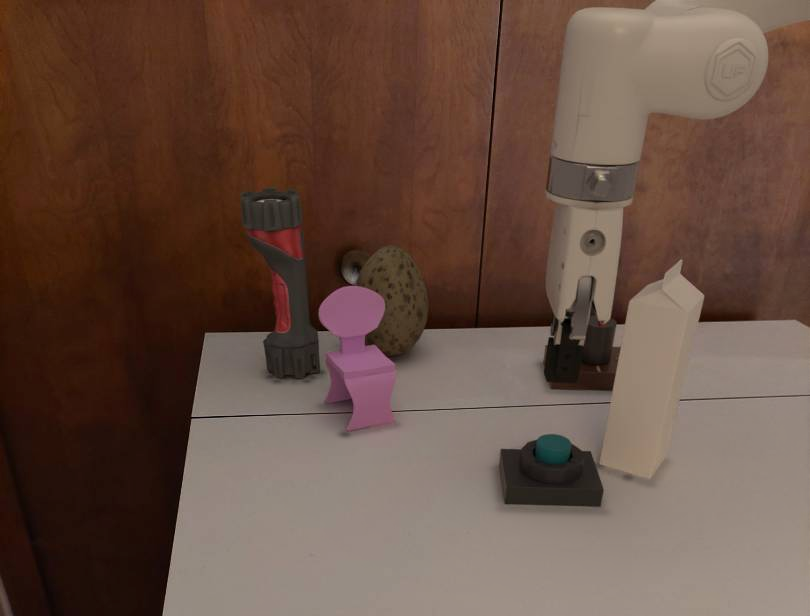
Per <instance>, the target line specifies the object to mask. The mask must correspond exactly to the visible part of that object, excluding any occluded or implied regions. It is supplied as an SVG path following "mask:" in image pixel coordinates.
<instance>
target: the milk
mask: <svg viewBox="0 0 810 616" xmlns="http://www.w3.org/2000/svg"><path fill="white" fill-rule="evenodd" d="M683 262H684V261H683V259H682V258H681V259H680V260H678V261H677V262H676V263H675V264H674V265H673V266H672V267H670V268H669V269H668V270H667V271H666V272H665V273H664V276H663V278H662V279H660V280H657V281H654V282H652V283H649V284H647V285H645V287H643V288H642V289H641V290H640V291H639V292H638V293H636V294H635V296H633V297H632V298H631V299H630V300H629V301H628V306H627V310H626V317H625V321H624V328H623V332H622V338H621V344H620V347H621V349H620V354H619V359H618V365H617V370H616V376H615V381H614V386H613V390H612V392H611V398H610V402H609V403H610V404H609V409H608V414H607V419H606V425H605V430H604V435H603V439H602V440H603V441H602V446H601V452H600V456H599V465H602V466H605V467H607V468H612V469H615V470H619V471H622V472H626V473H628V474H632V475H635V476H639V477H642V478H646V479H648V480H650V479H651V478H652V477H653V476H654V474H655V473H656V472H657V470H658V469H659V467H660V466H661V464H662V463H663V461H664V460H665V459H666V457H667V455H668V450H669V446H670V442H671V437H672V434H673V430H674V425H675V421H676V417H677V412H678V410H679V409H678V408H679V405H680V401H681V396H682V393H683V392H682V391H683V388H684V384H685V379H686V375H687V371H688V367H689V363H690V360H691V359H690V358H691V354H692V349H693V347H694V341H695V337H696V335H697V334H696V333H697V329H698V325H699V321H700V317H701V312H702V309H703V304H704V301H705V294H704V293H702V292H701V291H700V290H699V289H698V288H697V287H696V286H695V285H694V284H692V283H691V282H690V280H688V279H687V278H686V277H684V276H683V275H682V273H681V271H682V267H683V266H682V265H683Z"/></svg>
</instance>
